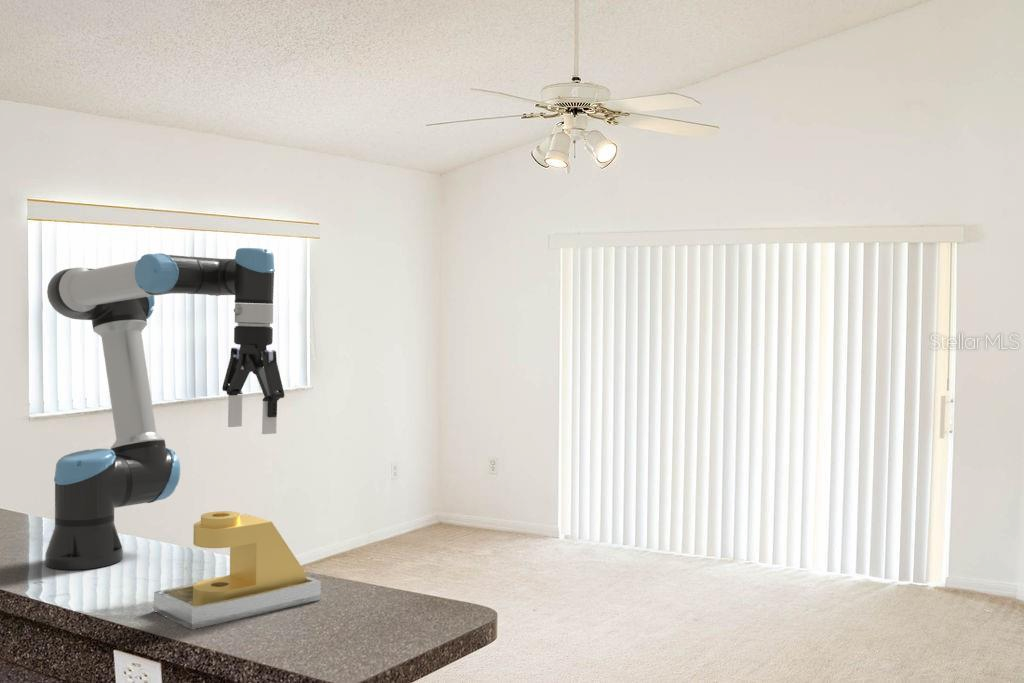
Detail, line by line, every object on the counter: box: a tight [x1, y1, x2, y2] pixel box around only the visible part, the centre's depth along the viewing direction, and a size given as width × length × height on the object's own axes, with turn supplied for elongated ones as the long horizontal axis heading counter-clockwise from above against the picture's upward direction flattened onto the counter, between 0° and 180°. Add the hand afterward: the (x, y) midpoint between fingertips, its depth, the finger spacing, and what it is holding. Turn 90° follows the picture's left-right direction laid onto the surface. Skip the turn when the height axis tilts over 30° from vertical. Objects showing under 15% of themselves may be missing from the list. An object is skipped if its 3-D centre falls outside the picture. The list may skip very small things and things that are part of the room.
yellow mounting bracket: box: [192, 510, 307, 607], centre depth 177 cm, size 20×9×16 cm, turn 136°
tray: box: [153, 576, 322, 631], centre depth 176 cm, size 14×26×4 cm, turn 136°
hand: (251, 430), depth 194 cm, fingers open, 13 cm apart
